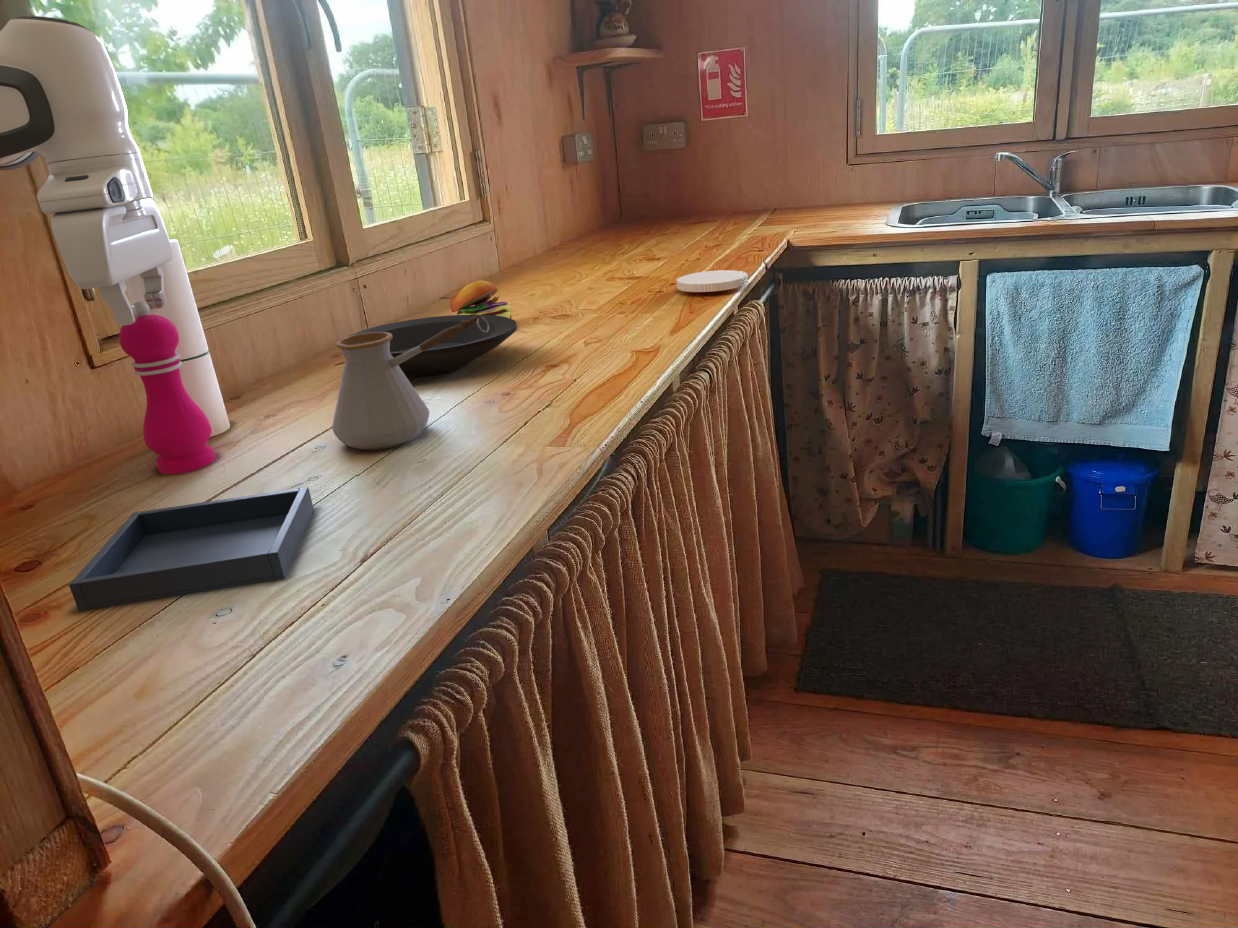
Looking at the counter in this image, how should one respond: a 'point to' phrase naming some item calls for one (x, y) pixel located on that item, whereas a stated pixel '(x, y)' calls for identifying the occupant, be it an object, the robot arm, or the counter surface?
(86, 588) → the tray
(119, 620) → the counter surface
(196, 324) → the cylindrical container
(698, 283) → the plastic lid
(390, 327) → the black bowl
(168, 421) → the pepper mill
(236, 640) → the counter surface
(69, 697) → the counter surface
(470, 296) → the cheeseburger
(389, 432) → the coffee pot
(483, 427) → the counter surface
